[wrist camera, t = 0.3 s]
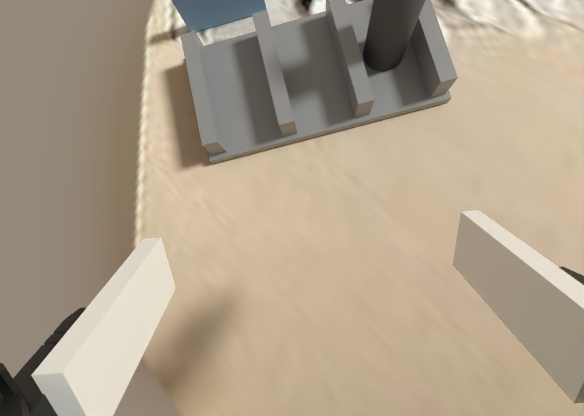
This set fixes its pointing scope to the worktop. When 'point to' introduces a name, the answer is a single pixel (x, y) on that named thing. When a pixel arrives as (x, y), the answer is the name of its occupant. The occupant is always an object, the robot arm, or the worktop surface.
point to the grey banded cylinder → (390, 32)
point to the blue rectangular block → (215, 11)
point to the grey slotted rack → (308, 79)
